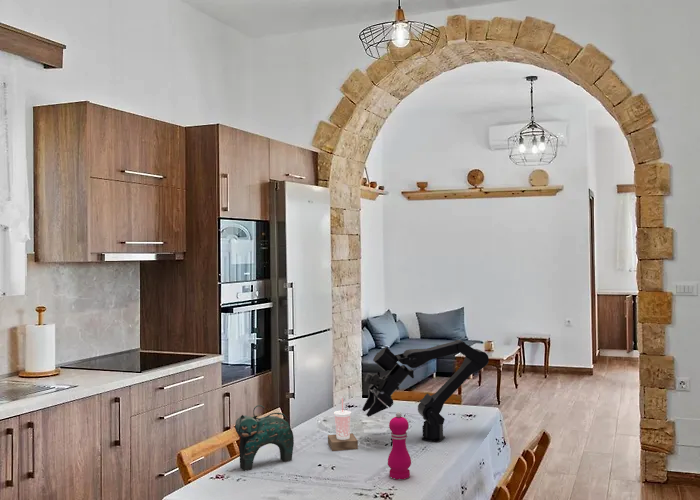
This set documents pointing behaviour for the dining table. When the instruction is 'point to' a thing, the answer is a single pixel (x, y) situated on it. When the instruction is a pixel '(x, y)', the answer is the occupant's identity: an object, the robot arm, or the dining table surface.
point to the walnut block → (342, 443)
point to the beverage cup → (342, 423)
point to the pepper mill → (399, 448)
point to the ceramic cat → (263, 437)
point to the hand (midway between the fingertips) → (365, 413)
